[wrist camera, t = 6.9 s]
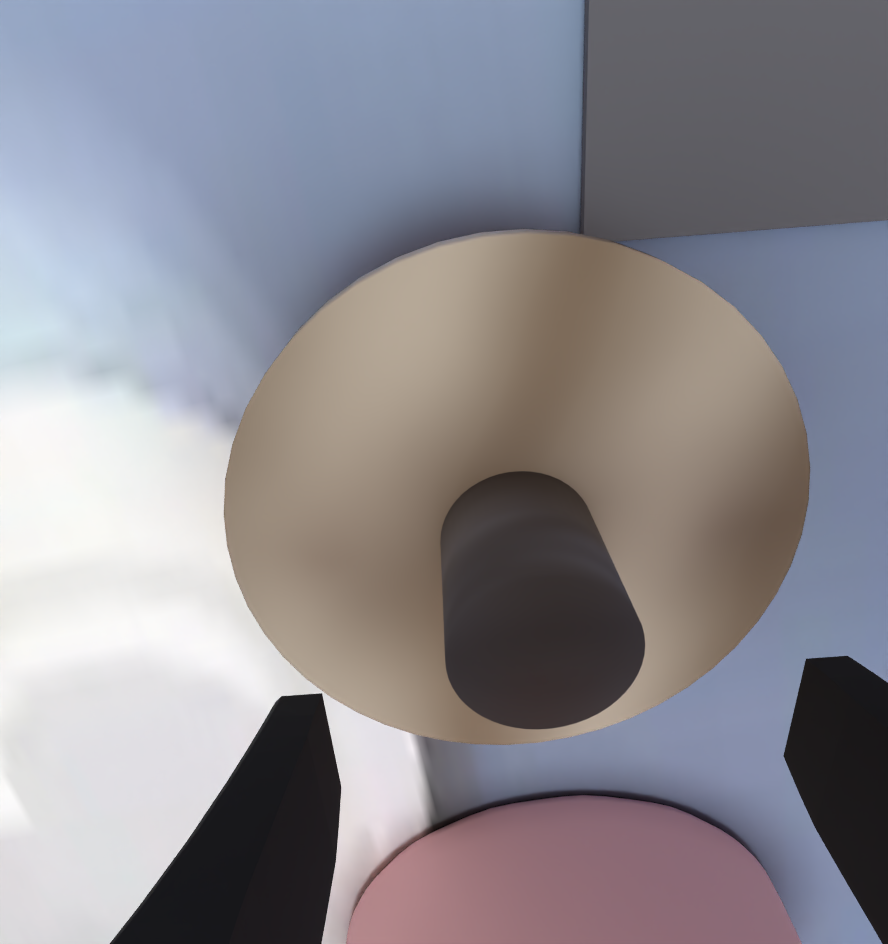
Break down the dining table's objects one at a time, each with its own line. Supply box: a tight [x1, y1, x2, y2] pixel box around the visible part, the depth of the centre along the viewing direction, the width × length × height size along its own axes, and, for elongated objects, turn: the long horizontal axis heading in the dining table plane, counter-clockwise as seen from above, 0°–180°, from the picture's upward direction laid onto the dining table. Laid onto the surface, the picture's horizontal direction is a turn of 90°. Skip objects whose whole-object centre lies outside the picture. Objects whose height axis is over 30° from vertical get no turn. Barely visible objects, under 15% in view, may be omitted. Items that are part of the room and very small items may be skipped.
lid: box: [224, 229, 810, 745], centre depth 12 cm, size 12×12×4 cm
